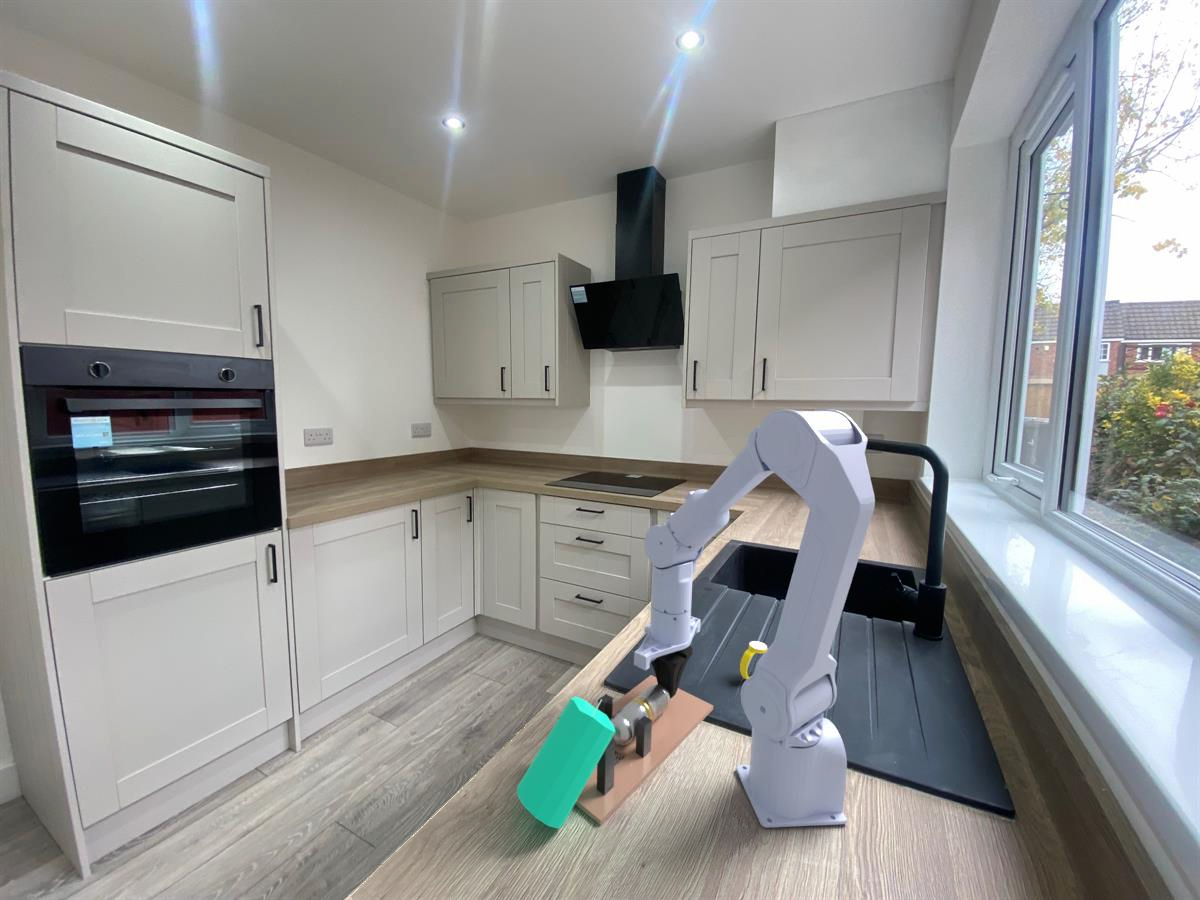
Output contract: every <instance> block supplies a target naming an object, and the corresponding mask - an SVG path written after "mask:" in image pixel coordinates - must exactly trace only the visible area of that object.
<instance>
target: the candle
mask: <svg viewBox="0 0 1200 900" xmlns="http://www.w3.org/2000/svg"><path fill="white" fill-rule="evenodd" d="M601 701H602V699H601V700H600V702H599V704H598V703H597V706H596V707H595V706H594V705H592V704H591V703H589V702H588V701H587V700H585V699H583V698H580V697H578V696H574V697H572V698H570V699H569V701H568V702H567V704H566V705H565V707H564V708H563V710H562V712H561V714H560V715H559V719H558V718H557V721H555V724H554V726H553V727H552V729H550V732H549V734H548V735H547V737H546V738H545V740H544V742H543V744H542V745H541V747H540V749H539V750H538V752H537V754H536V755H535V757H534V758H533V760H532V761H531V763H530V765H529V766H528V768H527V771H526V772H525V774H524V775H523V777H522V778H521V780H520V782H519V784H518V785H517V787H516V795H517V797H518V798H519V800H520V802H521V804H522V805H523V807H524V808H525V809H526V810H527V811H528V812H530V814H531V815H532V816H533V817H534V818H535V819H537V820H538V821H540V822H541V823H543V824H544V825H546V826H548V827H551V828H554V829H556V830H557V829H560V828H561V827H563V826H564V824H565V822H567V821H566V820H567V819H568V817H569V816H570V813H571V812H572V811H573V809H574V806H576V805H575V803H576V801H577V799H578V798H579V796H580V794H581V792H582V790H583V789H584V787H585V785H586V783H587V782H588V780H589V778H590V776H591V774H592V773H593V771H594V769H595V767H596V766H597V764H598V762H599V760H600V758H601V757H602V755H603V753H604V751H605V750H606V748H607V746H608V744H609V743H610V741H611V739H612V737H613V735H614V734H615V729H614V726H613V724H612V722H611V721H610V719H609V718H608V716H607V715H606V714H604V713H602V712H601V711H599V710H598V706H599V705H600V703H601Z"/></svg>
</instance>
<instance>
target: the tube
mask: <svg viewBox="0 0 1200 900" xmlns="http://www.w3.org/2000/svg"><path fill="white" fill-rule="evenodd" d="M669 704H670V695H669V692H668V691H667V689H666V688H665V687H664V686H662V685H659V684H654V685H652V686H650V687H649V688H647V689H646V690H645V691H644V692H642V693H641V694H640V695H639V696H637V697H636V698H634V699H633V700H632V701H631V702H629V703H628V704H627V705H626V706H625V707H624V708H622V709H621V710H620V711H619V712H617V713H616V714H615V715H614V716H612V718H611V719H610V721H611V722H612V724H613V726H614V729H615V734H614V735H613V737H612V739H611V740H613V741H614V742H615V744H617V745H626V744H628V743H630V742H631V741H632V740H633V739H634V738H635V737H636V729H637V721H639V720H640V719H641V718H642V717H643V716H646V717H647V718H649V719H651V720H652V722H653V721H654V720H655V719H656V718H657V717H658V716H660V715H661V714H662V713H663V712H664V711H665V710H666V709H667V708H668V706H669Z"/></svg>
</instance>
